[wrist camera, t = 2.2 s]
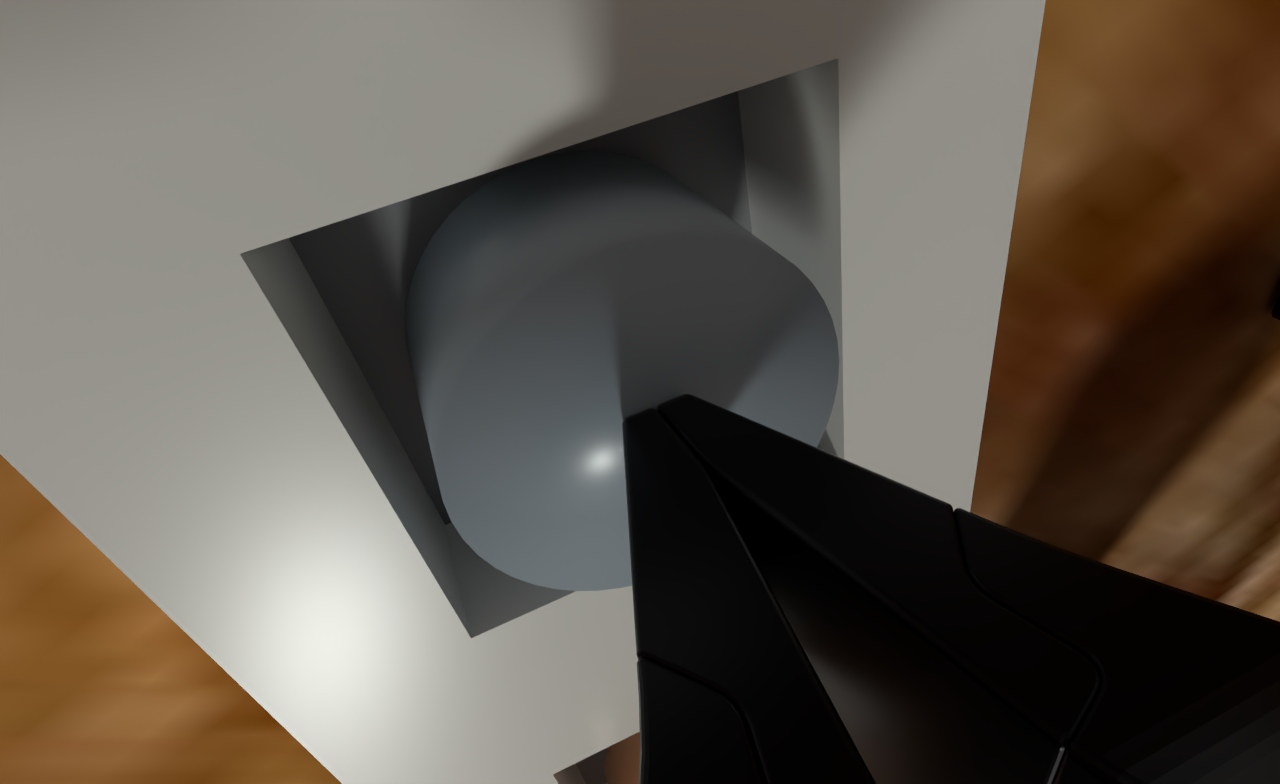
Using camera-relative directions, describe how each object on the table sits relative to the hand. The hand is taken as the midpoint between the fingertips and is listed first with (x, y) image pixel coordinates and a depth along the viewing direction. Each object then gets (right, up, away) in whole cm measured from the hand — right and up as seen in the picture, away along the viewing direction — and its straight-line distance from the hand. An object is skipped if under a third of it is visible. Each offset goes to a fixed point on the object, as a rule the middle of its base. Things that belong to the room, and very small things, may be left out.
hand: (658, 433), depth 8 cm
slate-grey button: (-1, +2, +2) cm, 3 cm away
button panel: (-1, -2, +7) cm, 7 cm away
